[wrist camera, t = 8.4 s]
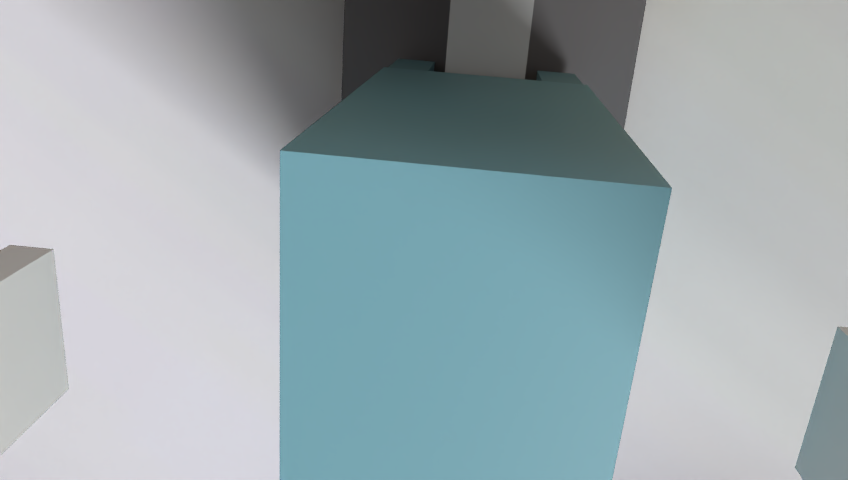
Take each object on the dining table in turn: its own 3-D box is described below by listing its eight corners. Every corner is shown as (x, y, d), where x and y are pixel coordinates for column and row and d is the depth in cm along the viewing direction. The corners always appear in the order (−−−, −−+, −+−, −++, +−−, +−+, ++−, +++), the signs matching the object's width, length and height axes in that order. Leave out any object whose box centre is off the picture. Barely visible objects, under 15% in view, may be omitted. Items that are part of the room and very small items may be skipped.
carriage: (381, 290, 22) (279, 565, 12) (394, 58, 19) (280, 150, 9) (544, 307, 22) (585, 607, 11) (578, 74, 19) (672, 187, 9)
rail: (332, 562, 28) (313, 628, 25) (353, -44, 20) (330, -47, 17) (537, 590, 27) (542, 660, 24) (642, -22, 19) (667, -21, 17)
